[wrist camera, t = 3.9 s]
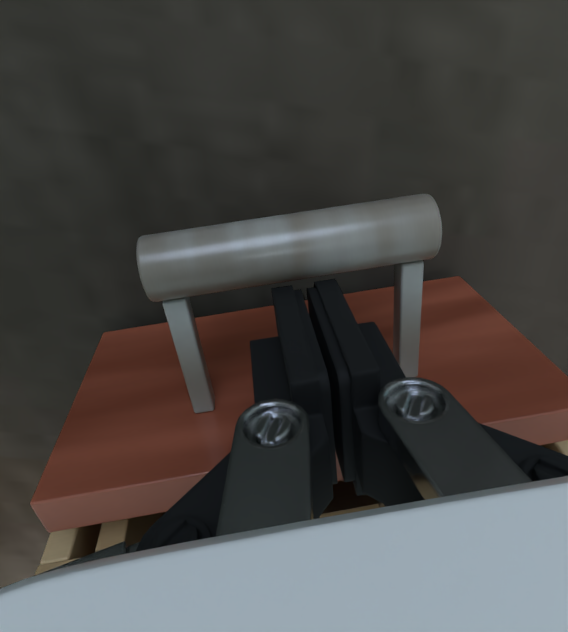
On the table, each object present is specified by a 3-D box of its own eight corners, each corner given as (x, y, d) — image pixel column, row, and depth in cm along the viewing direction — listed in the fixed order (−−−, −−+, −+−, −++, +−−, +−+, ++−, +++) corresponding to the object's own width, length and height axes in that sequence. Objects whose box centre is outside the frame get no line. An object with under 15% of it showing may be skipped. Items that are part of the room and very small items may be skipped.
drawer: (51, 198, 15) (-93, 317, 8) (473, 136, 15) (668, 199, 9) (182, 537, 24) (167, 719, 18) (438, 491, 25) (516, 650, 18)
